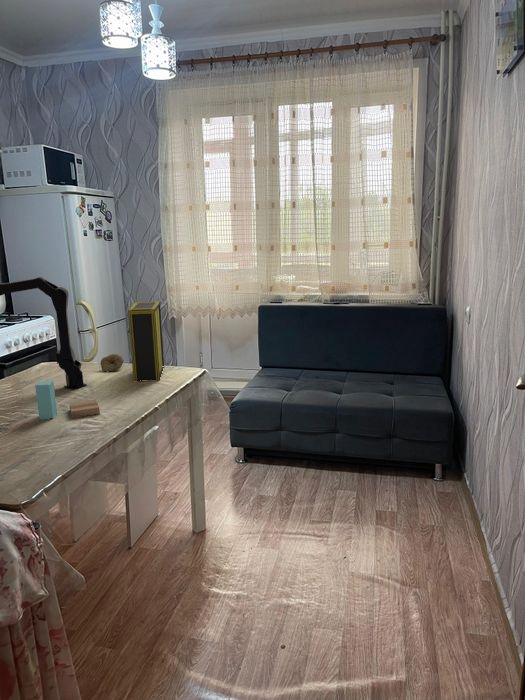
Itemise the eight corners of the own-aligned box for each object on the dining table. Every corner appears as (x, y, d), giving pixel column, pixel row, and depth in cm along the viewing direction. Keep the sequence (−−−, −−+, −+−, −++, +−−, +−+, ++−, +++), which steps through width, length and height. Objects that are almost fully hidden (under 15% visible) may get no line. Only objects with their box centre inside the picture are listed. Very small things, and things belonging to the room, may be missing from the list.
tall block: (43, 414, 182) (39, 381, 179) (57, 414, 182) (53, 380, 179) (39, 419, 177) (35, 385, 175) (53, 418, 178) (49, 384, 175)
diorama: (140, 368, 237) (135, 302, 230) (164, 367, 238) (160, 301, 231) (133, 382, 217) (127, 309, 210) (159, 380, 218) (154, 308, 211)
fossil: (98, 357, 236) (120, 350, 238) (100, 362, 239) (122, 355, 241) (102, 373, 231) (125, 366, 233) (104, 378, 235) (127, 371, 237)
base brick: (69, 410, 186) (69, 403, 185) (96, 406, 189) (95, 399, 189) (72, 418, 178) (71, 411, 177) (99, 414, 181) (99, 407, 181)
